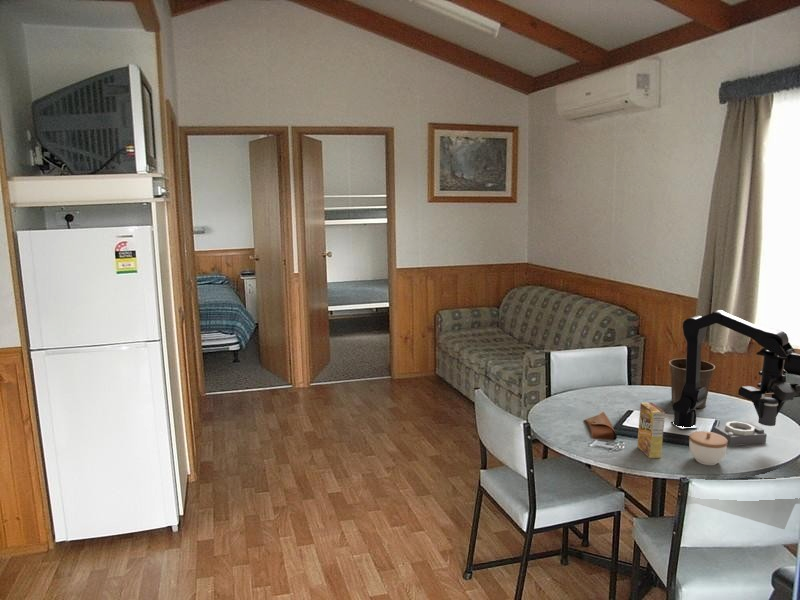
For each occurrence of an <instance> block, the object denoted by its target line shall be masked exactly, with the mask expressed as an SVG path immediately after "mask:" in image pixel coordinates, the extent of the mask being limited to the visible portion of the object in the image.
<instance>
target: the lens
mask: <svg viewBox="0 0 800 600" xmlns="http://www.w3.org/2000/svg"><path fill="white" fill-rule="evenodd" d="M764 399H766V400H768V401H767V402H766V403H764V410H763V416H762V418H760V417H758V422H757V423H758V424H759V425H762V426H766V427H767V426H768V427H775V426H776V424H777V416H778V415H777V406H778V400H777V399H775V398H772V396H771V397H769V396H765V398H764ZM776 415H777V416H776Z"/></svg>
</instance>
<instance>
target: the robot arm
mask: <svg viewBox="0 0 800 600" xmlns="http://www.w3.org/2000/svg"><path fill="white" fill-rule="evenodd" d="M714 324H717V325H721V326H723V327H725V328H727V329H729V330H731V331H734V332H737V333H739V334H741V335H743V336H746V337H748V338H750V339H752V340H753V341H755V342H756V343H757V344H758V345H759V346H761V347H762V348H761V349H760V350H759V351H757V352H756V355H757V356H762V357H763V358H762V359H763V360H762V367H761V368H762V369H761V370H760V371H758V375H759V376H761V377H760V383H757V387H758V388H757V387H754V386H751V385H746V386H740V387H739V388H738V393H737V394H738V396H741V397H742V398H744V399H747V400H749V401H751V402H752V404H753V407H754V408H755V411H756V414H757V416H758V418H759V417H760V418H762V416H763V410H764V403H766V402H767V401H768V400H766V399H764V398H765V397H766V396H767V395H771V398H775V399H777V400H778V406H777V415H776V417H778V415H779V413H780V411H781V409H782V407H784V404H785V403H786V402H789V401H793V400H794V399H795V398H800V384H799V383H798V382H794V383H791V382H787V377H786V375H785V374H783V373H785V372H786V373H787V374H788V375H793V376H798V377H800V353H796V351H795V349H794V347H792V344H791V343H790V342H789V337H788V334H787V333H786V332H784V331H782V330H779V329H774V328H769V327H764V326H761V325H758V324H757V325H756V324H754V323H752V322H750V321H747V320H744V319H743V318H740V317H738V316H735V315H733V314H730V313H728V312H726V311H724V310H723V309H718V310H715V311H712V312H711V313H709V314H706V315H703V316H702V315H695V316H694V315H693V316H692V317H689V318H687V319H685V320H684V321H683V322H682V331H683V332H682V333H683V337H684V338H685V339H684V340H685V342H686V381H685V384H684V387H683V389H682V391H681V396H680V400H679V401H677V402H676V403H674V404H673V403H672V404H671V406H672V409H673V411H674V414H673V421H670V424H671V423H673V422H674V424H675V425H677V426H682V427H683V426H684V427H691V426H693V425H695V426H696V424H697V415H698V414H697V409H698V408H697V407H698V405H700V404H702V403H703V402H704V399H706V395H705V393H706V387H702V386H701V383H700V370H701V360H702V345H703V341H704V339H705V336H706V333H707V329H708V327H710V326H712V325H714ZM675 425H674V426H675Z"/></svg>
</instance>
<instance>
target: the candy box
mask: <svg viewBox="0 0 800 600" xmlns="http://www.w3.org/2000/svg"><path fill="white" fill-rule="evenodd" d="M665 415H666V412H665V411H664V410H662V409H661V408H659V407H658V406H657V405H655V404H654V403H653V402H640V407H639V420H638V432H637V442H636V443H637V444H636V447H637V448H638V449H639V450H640V451H641V452H642V453H643V454H644V455H646V456H647V457H648V458H649V459H656V458H657V459H660V458H661V457H662V449H663V439H664V430H665V429H664V428H665V417H666V416H665Z"/></svg>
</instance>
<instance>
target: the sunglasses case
mask: <svg viewBox="0 0 800 600" xmlns="http://www.w3.org/2000/svg"><path fill="white" fill-rule="evenodd" d="M583 421H584V423H585V424H586V427H587V428H588V431H589V433H590V438H591V439H593V440H609V441H610V440H613V441H616V440H617V438H618V434H617V432H616V430H615V429H614V426H613V424H612V423H611V421H610V419H609V418H608V416H607V415H606V413H605V412H604V411H603V412H600V413H599V414H597V415H593V416H591V417H589V418H585V419H583Z"/></svg>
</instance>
